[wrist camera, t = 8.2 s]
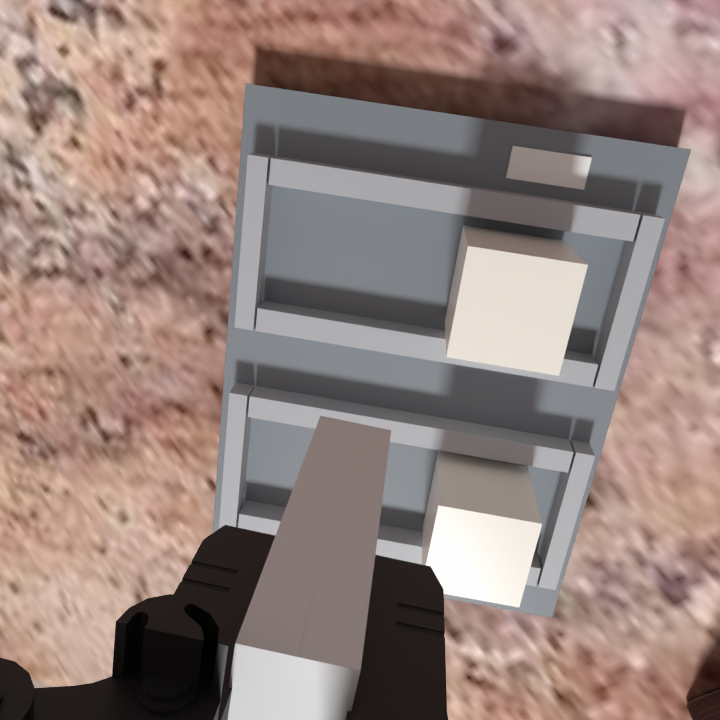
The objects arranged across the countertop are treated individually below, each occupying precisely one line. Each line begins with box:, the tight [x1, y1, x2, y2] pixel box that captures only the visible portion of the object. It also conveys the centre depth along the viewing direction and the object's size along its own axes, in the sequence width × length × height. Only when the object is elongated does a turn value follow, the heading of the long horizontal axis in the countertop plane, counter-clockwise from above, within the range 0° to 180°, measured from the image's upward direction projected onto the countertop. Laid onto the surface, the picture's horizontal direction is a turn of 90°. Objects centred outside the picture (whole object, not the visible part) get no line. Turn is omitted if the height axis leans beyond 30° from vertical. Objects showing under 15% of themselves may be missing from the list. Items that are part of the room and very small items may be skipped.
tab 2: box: [422, 451, 542, 608], centre depth 29 cm, size 4×4×4 cm
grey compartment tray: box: [213, 84, 691, 618], centre depth 30 cm, size 22×17×3 cm
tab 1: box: [445, 225, 588, 376], centre depth 25 cm, size 4×4×4 cm
